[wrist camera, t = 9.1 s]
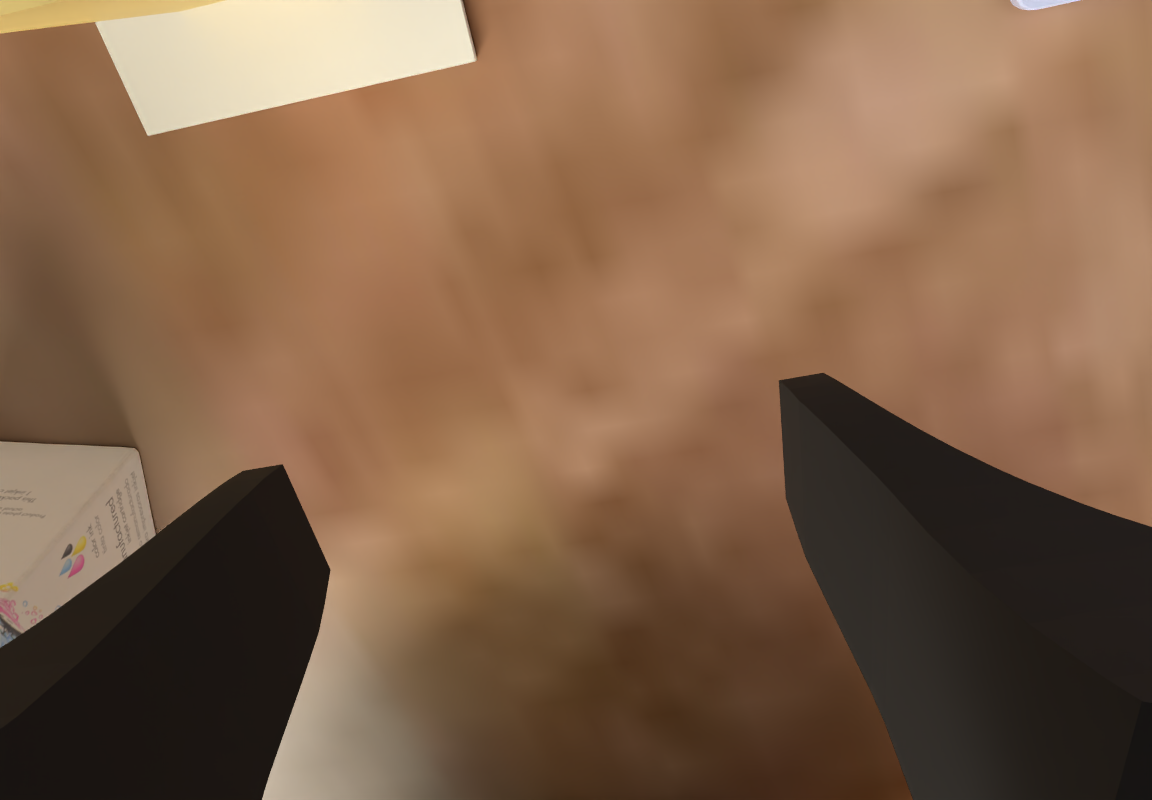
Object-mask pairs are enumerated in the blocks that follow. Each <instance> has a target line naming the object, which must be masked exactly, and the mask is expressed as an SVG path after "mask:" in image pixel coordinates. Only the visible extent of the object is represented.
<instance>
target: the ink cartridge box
mask: <svg viewBox="0 0 1152 800" xmlns="http://www.w3.org/2000/svg"><path fill="white" fill-rule="evenodd" d="M155 535H156V534H155V529H154V524H153V519H152V515H151V509H150V504H149V499H148V494H147V489H146V484H145V479H144V474H143V470H142V465H141V460H140V456H139V452H138V451H137V450H136V449H135V448H127V447H107V446H88V445H63V444H41V443H22V442H1V441H0V648H1V647H2V646H4V645H5V644H7V643H9V642H10V641H12V640H13V639H15V638H16V637H18V636H19V635H21V634H22V633H24V632H25V631H27V630H28V629H30V628H31V627H33V626H34V625H36V624H37V623H38V622H40V621H41V620H43V619H44V618H46V617H47V616H49V615H50V614H51V613H53V612H54V611H56V610H57V609H58V608H60V607H61V606H62V605H64V604H65V603H66V602H68V601H69V600H71V599H72V598H73V597H75V596H76V595H77V594H79V593H80V592H81V591H83V590H84V589H85V588H87V587H88V586H89V585H91V584H92V583H94V582H95V581H96V580H98V579H99V578H100V577H102V576H103V575H104V574H106V573H107V572H108V571H110V570H111V569H113V568H114V567H115V566H117V565H118V564H119V563H121V562H122V561H123V560H125V559H126V558H127V557H128V556H130V555H131V554H132V553H134V552H135V551H136V550H137V549H139V548H140V547H141V546H142V545H144V544H145V543H146V542H148V541H149V540H150V539H151V538H153V537H154V536H155Z"/></svg>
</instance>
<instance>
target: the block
mask: <svg viewBox="0 0 1152 800" xmlns="http://www.w3.org/2000/svg"><path fill="white" fill-rule="evenodd" d="M222 1H226V0H0V33H7V32H16V31H24V30H32V29H40V28H49V27H57V26H65V25H73V24H81V23H90V22H98V21H106V20H114V19H123V18H131V17H139V16H147V15H155V14H164V13H172V12H180V11H184V10H188V9H192V8H196V7H201V6H205V5H209V4H213V3H217V2H222Z"/></svg>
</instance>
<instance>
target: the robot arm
mask: <svg viewBox="0 0 1152 800" xmlns="http://www.w3.org/2000/svg"><path fill="white" fill-rule="evenodd" d="M1010 1H1011V2H1012V4H1013V6H1015V7H1017V8H1019V9H1023V10H1038V9H1042V8H1047V7H1051V6H1056V5H1061V4H1065V3H1070V2H1074V1H1079V0H1010ZM779 390H780V406H781V423H782V440H783V457H784V474H785V490H786V500H787V503H788V506H789V509H790V512H791V515H792V518H793V521H794V524H795V527H796V531H797V533H798V536H799V539H800V542H801V545H802V548H803V551H804V554H805V557H806V559H807V561H808V563H809V565H810V568H811V570H812V572H813V574H814V576H815V578H816V580H817V582H818V584H819V586H820V588H821V590H822V592H823V595H824V597H825V599H826V601H827V603H828V605H829V607H830V609H831V611H832V613H833V615H834V617H835V619H836V621H837V623H838V625H839V627H840V629H841V631H842V633H843V635H844V638H845V640H846V642H847V644H848V646H849V648H850V650H851V652H852V654H853V656H854V658H855V660H856V662H857V664H858V666H859V668H860V670H861V672H862V674H863V676H864V678H865V680H866V682H867V684H868V686H869V689H870V691H871V693H872V695H873V697H874V700H875V702H876V704H877V706H878V709H879V711H880V713H881V716H882V718H883V720H884V722H885V725H886V727H887V730H888V733H889V736H890V738H891V741H892V744H893V746H894V749H895V752H896V755H897V757H898V760H899V763H900V765H901V768H902V771H903V774H904V776H905V779H906V782H907V784H908V787H909V790H910V792H911V795H912V798H913V800H1152V527H1150V526H1147V525H1144V524H1140V523H1137V522H1134V521H1131V520H1128V519H1125V518H1121V517H1118V516H1115V515H1112V514H1110V513H1107V512H1104V511H1101V510H1098V509H1095V508H1093V507H1090V506H1087V505H1084V504H1081V503H1079V502H1076V501H1074V500H1071V499H1069V498H1066V497H1064V496H1061V495H1059V494H1056V493H1054V492H1051V491H1049V490H1046V489H1044V488H1041V487H1038V486H1036V485H1033V484H1031V483H1028V482H1026V481H1024V480H1021V479H1019V478H1017V477H1015V476H1012V475H1010V474H1008V473H1005V472H1003V471H1001V470H999V469H997V468H995V467H993V466H990V465H988V464H986V463H984V462H982V461H980V460H978V459H976V458H974V457H972V456H970V455H968V454H966V453H964V452H962V451H960V450H958V449H956V448H954V447H952V446H950V445H948V444H946V443H944V442H942V441H940V440H938V439H937V438H935V437H933V436H931V435H929V434H927V433H925V432H924V431H922V430H920V429H918V428H916V427H915V426H913V425H911V424H909V423H908V422H906V421H904V420H902V419H901V418H899V417H897V416H896V415H894V414H892V413H890V412H889V411H887V410H885V409H884V408H882V407H880V406H879V405H877V404H875V403H874V402H872V401H870V400H869V399H867V398H865V397H864V396H862V395H860V394H859V393H857V392H855V391H854V390H852V389H850V388H849V387H847V386H845V385H844V384H842V383H840V382H839V381H837V380H835V379H834V378H832V377H830V376H828V375H826V374H824V373H820V374H814V375H808V376H802V377H797V378H791V379H785V380H779ZM329 575H330V568H329V566H328V564H327V561H326V559H325V557H324V555H323V552H322V550H321V548H320V546H319V544H318V541H317V539H316V537H315V535H314V533H313V530H312V528H311V526H310V524H309V521H308V519H307V517H306V515H305V513H304V510H303V508H302V506H301V504H300V502H299V499H298V497H297V495H296V493H295V491H294V488H293V486H292V484H291V482H290V479H289V477H288V475H287V473H286V471H285V468H284V466H283V464H282V465H276V466H270V467H264V468H258V469H252V470H246V471H242V472H241V473H239V474H237V475H236V476H234V477H232V478H231V479H229V480H228V481H226V482H225V483H223V484H222V485H220V486H219V487H218V488H216V489H215V490H214V491H212V492H211V493H209V494H208V495H207V496H205V497H204V498H203V499H201V500H200V501H199V502H198V503H196V504H195V505H194V506H192V507H191V508H190V509H188V510H187V511H186V512H185V513H183V514H182V515H181V516H180V517H178V518H177V519H176V520H174V521H173V522H172V523H171V524H169V525H168V526H167V527H165V528H164V529H163V530H162V531H160V532H159V533H158V534H157V535H155V536H154V537H153V538H151V539H150V540H149V541H148V542H146V543H145V544H144V545H142V546H141V547H140V548H139V549H137V550H136V551H135V552H134V553H132V554H131V555H130V556H128V557H127V558H126V559H125V560H123V561H122V562H121V563H119V564H118V565H117V566H115V567H114V568H113V569H111V570H110V571H108V572H107V573H106V574H104V575H103V576H102V577H100V578H99V579H98V580H96V581H95V582H94V583H92V584H91V585H89V586H88V587H87V588H85V589H84V590H83V591H81V592H80V593H79V594H77V595H76V596H75V597H73V598H72V599H71V600H69V601H68V602H66V603H65V604H64V605H62V606H61V607H60V608H58V609H57V610H56V611H54V612H53V613H51V614H50V615H49V616H47V617H46V618H44V619H43V620H41V621H40V622H38V623H37V624H36V625H34V626H33V627H31V628H30V629H28V630H27V631H25V632H24V633H22V634H21V635H19V636H18V637H16V638H15V639H13V640H12V641H10V642H9V643H7V644H5V645H4V646H2V647H1V648H0V800H262V797H263V794H264V790H265V787H266V784H267V781H268V777H269V774H270V771H271V768H272V766H273V763H274V760H275V757H276V754H277V751H278V749H279V746H280V743H281V740H282V737H283V734H284V731H285V729H286V726H287V723H288V720H289V717H290V714H291V712H292V709H293V706H294V703H295V700H296V697H297V695H298V692H299V689H300V686H301V683H302V680H303V677H304V674H305V671H306V669H307V666H308V663H309V660H310V657H311V654H312V651H313V648H314V645H315V642H316V639H317V636H318V632H319V628H320V623H321V619H322V614H323V609H324V604H325V599H326V593H327V587H328V581H329Z"/></svg>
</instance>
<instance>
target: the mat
mask: <svg viewBox="0 0 1152 800" xmlns="http://www.w3.org/2000/svg"><path fill="white" fill-rule="evenodd" d="M95 23H96V25H97V28H98V30H99V32H100V34H101V36H102V38H103V41H104V43H105V45H106V47H107V49H108V51H109V53H110V56H111V58H112V60H113V62H114V64H115V66H116V69H117V71H118V73H119V75H120V77H121V79H122V81H123V84H124V86H125V88H126V90H127V92H128V94H129V97H130V99H131V101H132V103H133V105H134V107H135V110H136V112H137V114H138V116H139V118H140V120H141V122H142V125H143V127H144V129H145V131H146V133H147V135H148V136H150V135H154V134H159V133H163V132H167V131H172V130H176V129H180V128H185V127H189V126H194V125H198V124H202V123H207V122H211V121H216V120H220V119H224V118H229V117H233V116H238V115H242V114H246V113H251V112H255V111H259V110H264V109H268V108H273V107H277V106H281V105H286V104H290V103H295V102H299V101H303V100H308V99H312V98H317V97H321V96H325V95H330V94H334V93H338V92H343V91H347V90H352V89H356V88H360V87H365V86H369V85H374V84H378V83H382V82H387V81H391V80H396V79H400V78H404V77H409V76H413V75H417V74H422V73H426V72H431V71H435V70H439V69H444V68H448V67H453V66H457V65H461V64H466V63H470V62H475V61H476V60H477V57H476V53H475V49H474V45H473V41H472V37H471V33H470V29H469V25H468V20H467V16H466V12H465V8H464V4H463V0H226V1H222V2H217V3H213V4H209V5H205V6H201V7H196V8H192V9H188V10H184V11H180V12H172V13H164V14H155V15H147V16H139V17H131V18H123V19H114V20H106V21H98V22H95Z"/></svg>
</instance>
